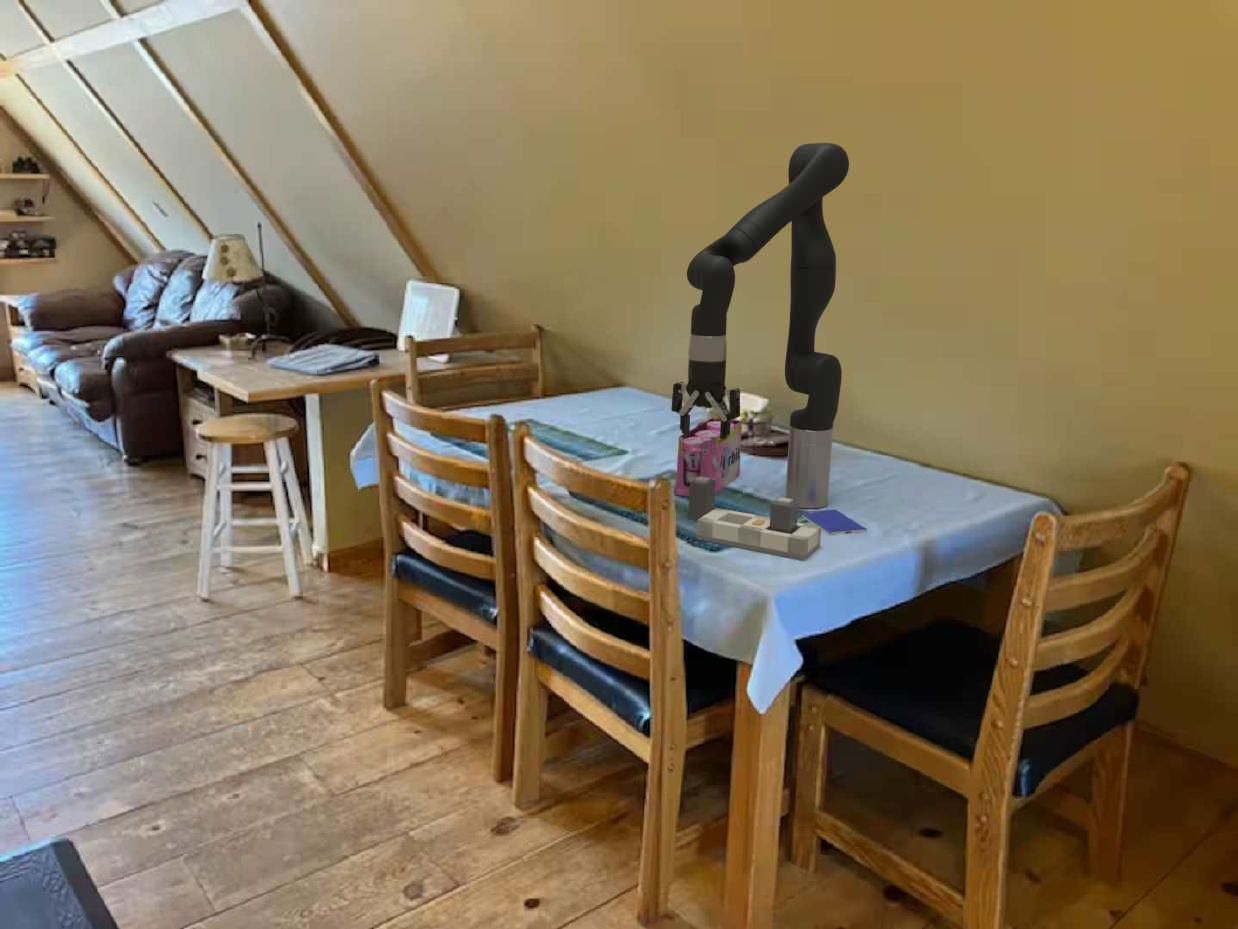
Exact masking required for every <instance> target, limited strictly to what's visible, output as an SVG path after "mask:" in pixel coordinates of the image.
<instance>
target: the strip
mask: <svg viewBox="0 0 1238 929" xmlns="http://www.w3.org/2000/svg"><path fill="white" fill-rule="evenodd" d="M769 529H770V517H769V516H765V515H757V514H753V513H746V512H740V511H736V510H732V509H731V510H730V509H725V508H720V507H716V508H714V510H712V511H711V512H709V513H708V514H706V515H704V516H703V517H701V518H699V519H698V520H697V521H696V540H699V541H703V540H704V541H705V542H709V543H713V544H720V545H723V546H730V547H734V548H737V549H738V548H739V549H744V550H749V551H754V552H759V553H764V554H768V555H773V556H774V555H775V556H779V557H783V558H788V559H794V560H799V561H805V560H806V559H808V557H810V556H811V555H813V553H814V552H816V551H817V550H818V549H819V548H820V547H821V536H822V530H821V527H820V526H815V525H813V524H808V523H803V522H798V521H797V530H796V531H795V532H794V533H793V534H788V533H782V532H777V531H772V530H769Z"/></svg>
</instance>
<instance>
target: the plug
mask: <svg viewBox="0 0 1238 929" xmlns="http://www.w3.org/2000/svg"><path fill="white" fill-rule="evenodd" d="M715 498H716V493H715V480H710V478H707V477H701V476H699V477H698V478H696V479H694V480H693V481H691V482H690V484H689V497H688V515H687V516H688V518H687V519H688V520H691V521H696V522H697V520H698V519H699V518H701V517H703V516H704V515H706V514H708V513H709V512H711V511H712V510H714V509H715V504H716V503H715V501H716V499H715Z"/></svg>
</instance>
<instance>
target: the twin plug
mask: <svg viewBox="0 0 1238 929" xmlns="http://www.w3.org/2000/svg"><path fill="white" fill-rule="evenodd" d="M798 503H799V502H797V501H793V499H789V498H785V497H779V498H777V499H776V500H774V501H773V502H772V503H770V512H769V513H770V514H769V516H770V529H769V530H772V531H777V532H782V533H788V534H793V533H794V532H795V531H796V530H797V522H798V515H799V507H798Z"/></svg>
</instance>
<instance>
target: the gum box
mask: <svg viewBox="0 0 1238 929" xmlns="http://www.w3.org/2000/svg"><path fill="white" fill-rule="evenodd" d="M721 421H722V419H721V418H718V417H717V418H716V417H712V418H710V419H708V420H706V421H704V422H703V423H701V424H699V425H697V426H695V427H694V428H692V429H690V431H689V433H687V434H682V433H681V435H679V436H678V447H677V461H676V462H677V463H676V464H677V465H676V479H675V480H676V482H675V495H677V496H682V497H687V498H689V484H690V482H691V481H693V480H694V479H696V478H698V477H699V476H701V477H707V478H710V480H715V494H716V493H718V492H720V490H723V488H725V487H727V485H729V484H731V482H734V480H736V479H737V478H738V477H739V476H740V473H741V471H740V470H741V448H742V447H741V445H742V428H743V427H742V426H743V424H742V422H743V421H742V420H735V419H732V420H731V424H730V435H729V436H727V438H726V439H720V425H721Z"/></svg>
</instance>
